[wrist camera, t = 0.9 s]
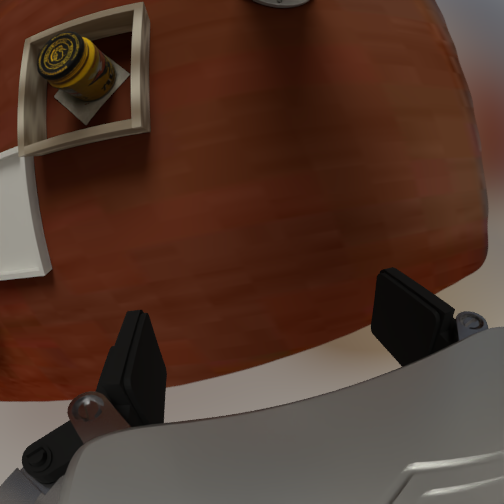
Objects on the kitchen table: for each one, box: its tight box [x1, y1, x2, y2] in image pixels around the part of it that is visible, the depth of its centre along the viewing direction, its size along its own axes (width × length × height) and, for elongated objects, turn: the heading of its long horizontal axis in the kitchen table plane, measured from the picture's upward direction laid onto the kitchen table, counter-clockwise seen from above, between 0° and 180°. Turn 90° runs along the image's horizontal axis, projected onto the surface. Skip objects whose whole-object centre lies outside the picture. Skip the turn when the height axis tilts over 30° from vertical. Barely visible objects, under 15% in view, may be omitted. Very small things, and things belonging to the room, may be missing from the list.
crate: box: [18, 2, 151, 157], centre depth 24 cm, size 16×16×6 cm
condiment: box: [37, 31, 130, 125], centre depth 22 cm, size 7×8×12 cm
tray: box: [0, 146, 52, 280], centre depth 28 cm, size 18×13×2 cm
